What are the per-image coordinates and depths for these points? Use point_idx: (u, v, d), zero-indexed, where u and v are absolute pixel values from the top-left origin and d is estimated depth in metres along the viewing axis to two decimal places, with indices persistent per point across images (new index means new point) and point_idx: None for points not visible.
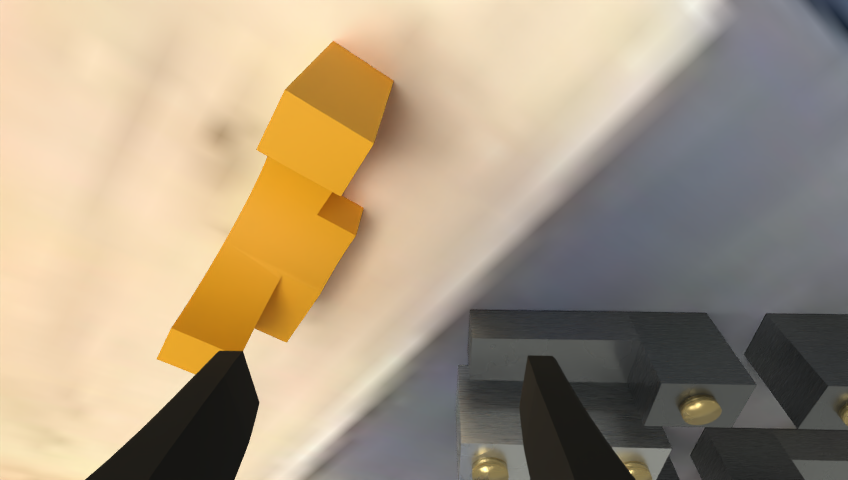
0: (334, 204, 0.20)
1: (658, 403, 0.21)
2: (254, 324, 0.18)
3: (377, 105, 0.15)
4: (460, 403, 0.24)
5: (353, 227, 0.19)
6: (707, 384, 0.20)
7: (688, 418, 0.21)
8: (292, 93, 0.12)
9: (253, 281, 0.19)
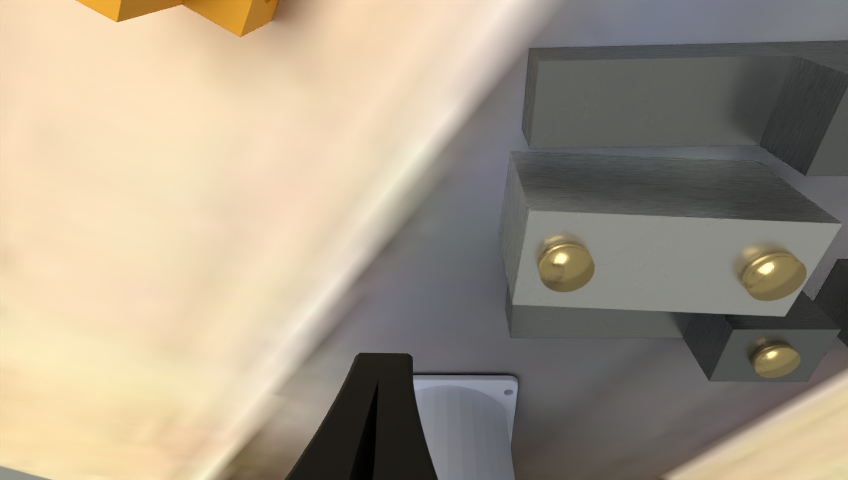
0: None
1: (837, 123, 0.13)
2: None
3: None
4: (520, 180, 0.17)
5: None
6: None
7: None
8: None
9: None
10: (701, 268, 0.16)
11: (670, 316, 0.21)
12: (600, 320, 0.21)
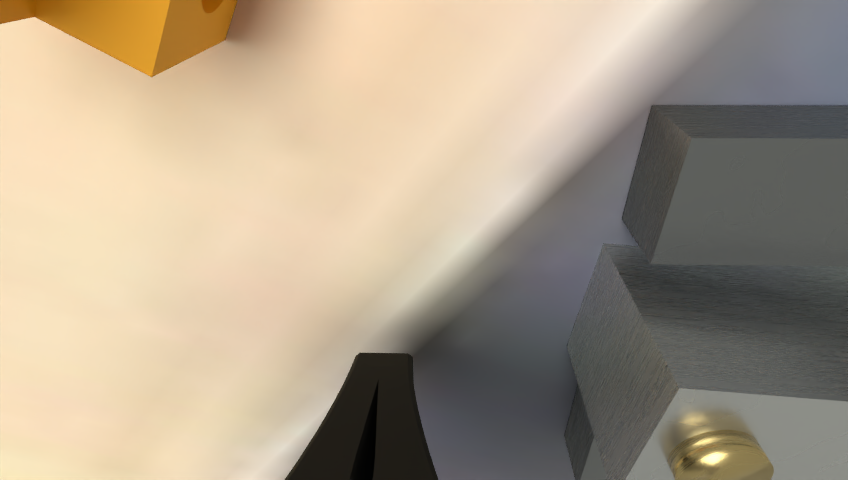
0: None
1: None
2: None
3: None
4: (636, 307, 0.11)
5: None
6: None
7: None
8: None
9: None
10: None
11: None
12: None
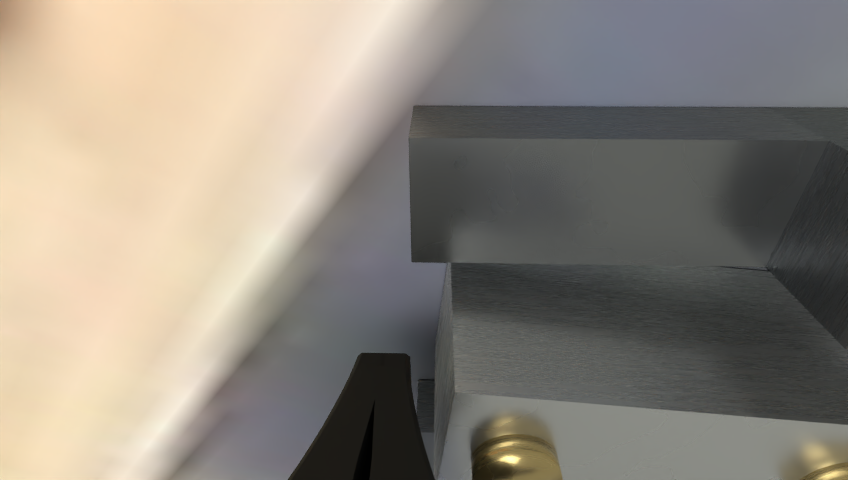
0: None
1: None
2: None
3: None
4: (453, 310, 0.11)
5: None
6: None
7: None
8: None
9: None
10: (733, 477, 0.10)
11: None
12: None
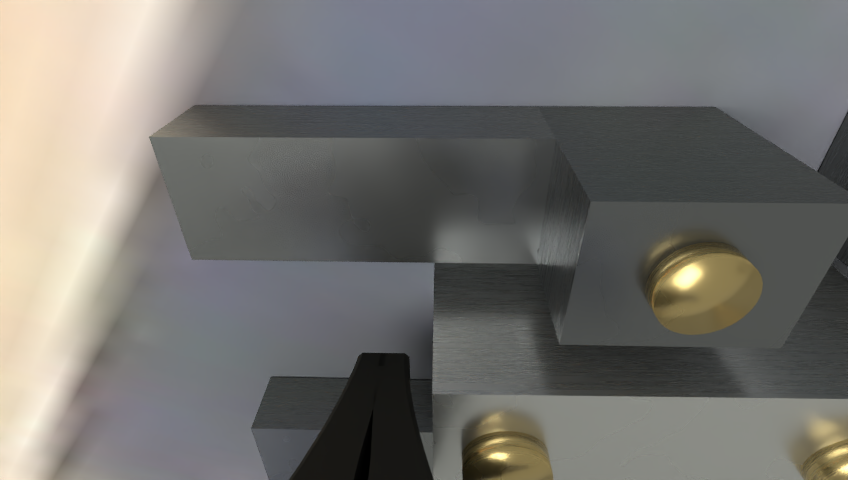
0: None
1: (588, 273, 0.08)
2: None
3: None
4: (435, 312, 0.11)
5: None
6: (723, 205, 0.07)
7: (668, 313, 0.08)
8: None
9: None
10: (735, 461, 0.10)
11: None
12: None
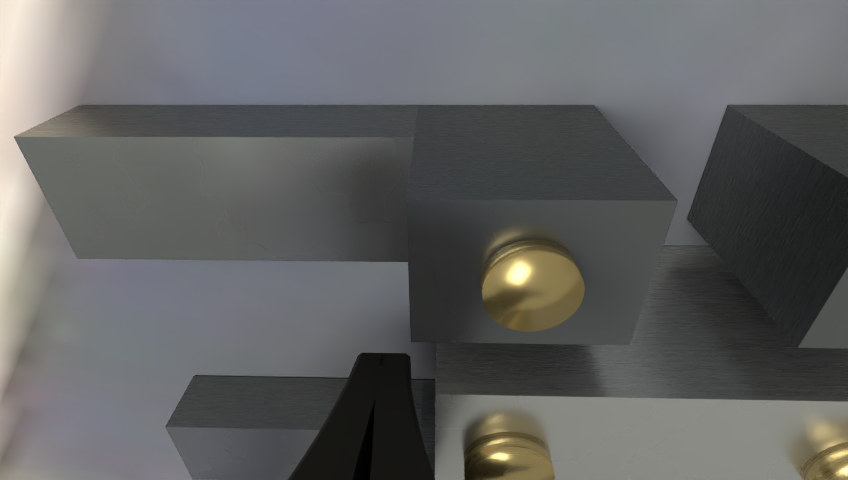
0: None
1: (421, 271, 0.08)
2: None
3: None
4: None
5: None
6: (536, 202, 0.07)
7: (499, 311, 0.08)
8: None
9: None
10: (736, 463, 0.10)
11: None
12: None
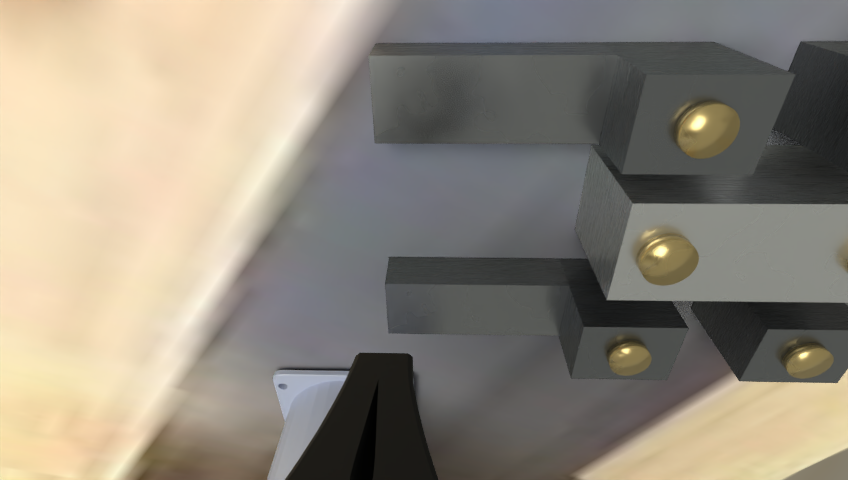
0: None
1: (642, 122, 0.13)
2: None
3: None
4: (611, 173, 0.17)
5: None
6: (717, 76, 0.13)
7: (687, 144, 0.13)
8: None
9: None
10: (806, 256, 0.16)
11: (542, 313, 0.21)
12: (474, 317, 0.21)
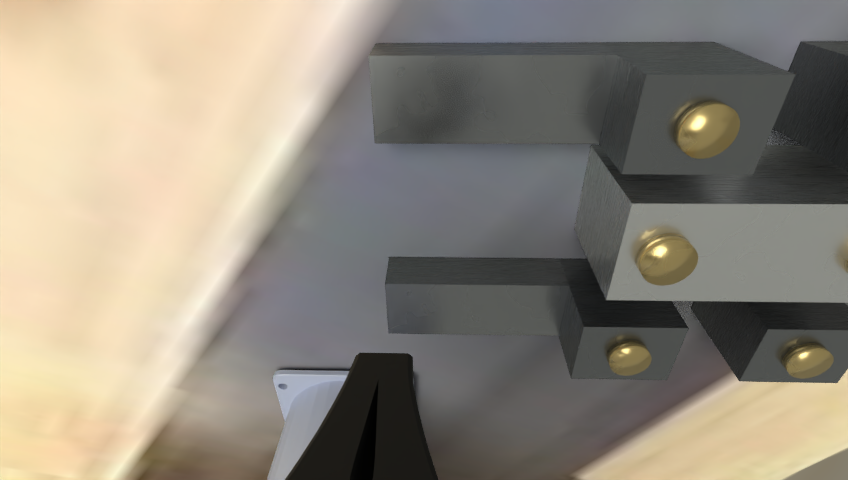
0: None
1: (642, 122, 0.13)
2: None
3: None
4: (610, 173, 0.17)
5: None
6: (717, 76, 0.13)
7: (687, 144, 0.13)
8: None
9: None
10: (806, 256, 0.16)
11: (542, 314, 0.21)
12: (474, 317, 0.21)
